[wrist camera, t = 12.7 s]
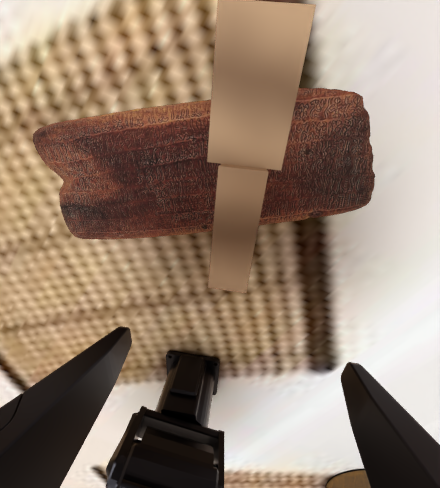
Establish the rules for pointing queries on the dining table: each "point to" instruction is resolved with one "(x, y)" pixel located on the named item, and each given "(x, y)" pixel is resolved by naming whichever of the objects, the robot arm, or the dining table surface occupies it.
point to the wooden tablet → (202, 167)
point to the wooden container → (350, 480)
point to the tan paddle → (250, 121)
